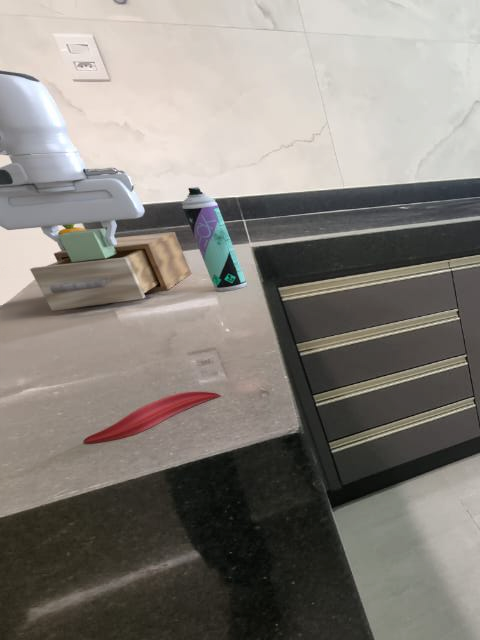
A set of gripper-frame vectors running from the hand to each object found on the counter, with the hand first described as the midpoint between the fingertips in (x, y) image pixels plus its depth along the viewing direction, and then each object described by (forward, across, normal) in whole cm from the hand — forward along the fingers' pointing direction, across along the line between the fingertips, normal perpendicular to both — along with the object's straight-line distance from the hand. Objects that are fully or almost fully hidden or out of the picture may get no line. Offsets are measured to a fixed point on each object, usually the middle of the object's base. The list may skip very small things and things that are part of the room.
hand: (90, 247), depth 101 cm
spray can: (+11, -20, +2) cm, 23 cm away
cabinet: (+11, 0, -12) cm, 16 cm away
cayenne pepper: (+11, -27, +67) cm, 73 cm away
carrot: (+11, +16, -34) cm, 39 cm away
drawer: (+10, 0, +1) cm, 10 cm away
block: (+2, 0, 0) cm, 2 cm away
